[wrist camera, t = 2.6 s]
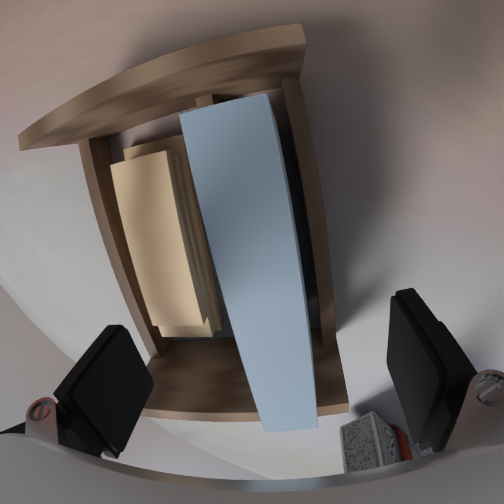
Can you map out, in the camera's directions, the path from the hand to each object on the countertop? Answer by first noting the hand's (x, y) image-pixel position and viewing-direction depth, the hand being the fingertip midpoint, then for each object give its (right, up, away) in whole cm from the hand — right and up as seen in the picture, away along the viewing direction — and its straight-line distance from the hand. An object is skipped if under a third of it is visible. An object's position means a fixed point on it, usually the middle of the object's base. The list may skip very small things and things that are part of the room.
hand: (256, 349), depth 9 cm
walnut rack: (-3, +5, +16) cm, 17 cm away
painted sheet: (+2, +6, +15) cm, 16 cm away
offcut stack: (-7, +4, +17) cm, 19 cm away
